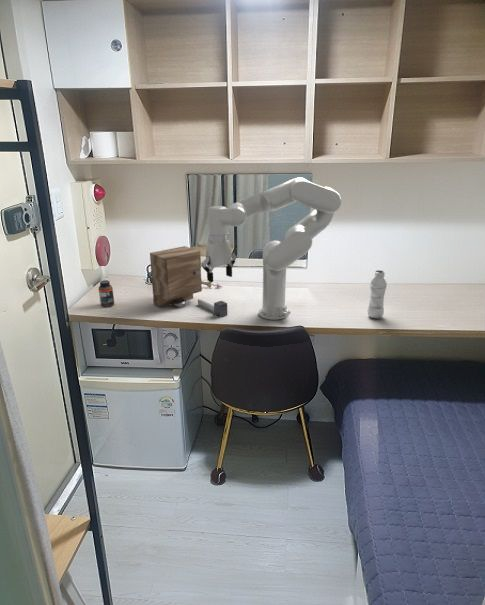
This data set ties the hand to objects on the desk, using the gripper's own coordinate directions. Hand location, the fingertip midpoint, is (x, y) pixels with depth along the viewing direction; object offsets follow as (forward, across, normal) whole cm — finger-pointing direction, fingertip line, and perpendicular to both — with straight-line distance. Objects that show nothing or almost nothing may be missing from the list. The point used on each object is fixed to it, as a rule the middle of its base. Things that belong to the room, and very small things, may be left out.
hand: (219, 278), depth 188 cm
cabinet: (+16, +7, -23) cm, 29 cm away
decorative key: (+16, -15, -34) cm, 41 cm away
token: (+16, +8, -20) cm, 27 cm away
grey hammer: (+16, 0, -7) cm, 18 cm away
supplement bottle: (+16, +32, -42) cm, 55 cm away
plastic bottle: (+17, -48, +44) cm, 67 cm away
